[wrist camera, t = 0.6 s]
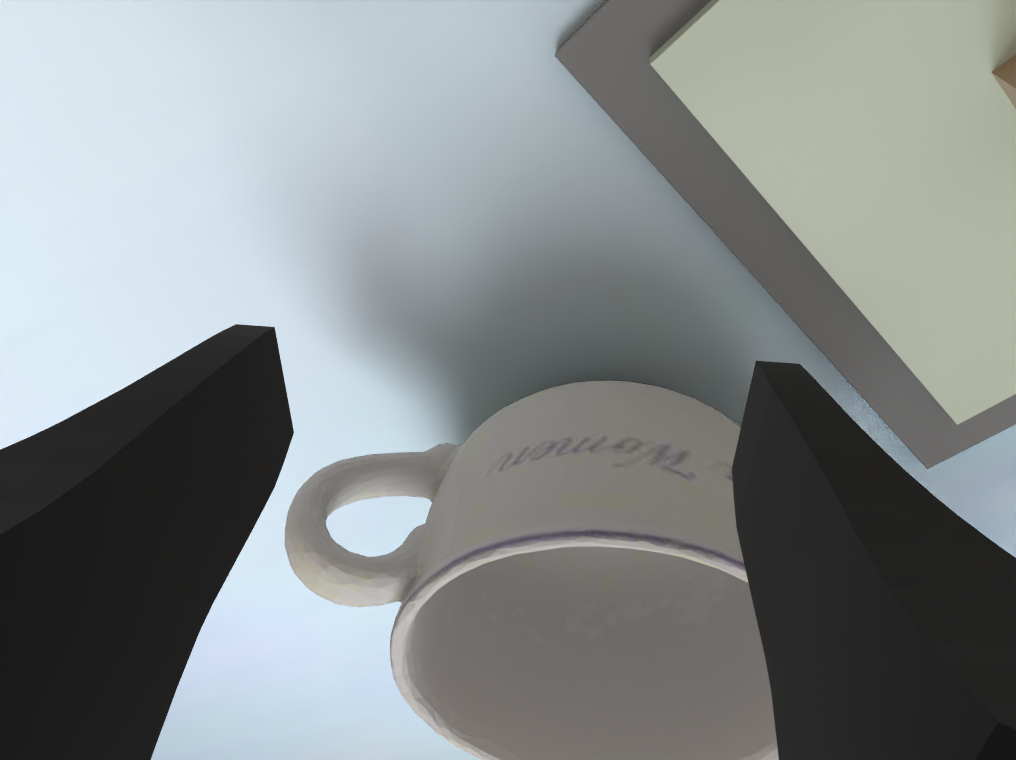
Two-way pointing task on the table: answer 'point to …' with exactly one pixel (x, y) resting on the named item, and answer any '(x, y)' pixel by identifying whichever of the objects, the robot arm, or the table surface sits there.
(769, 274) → the mat
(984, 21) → the cream flat block
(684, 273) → the table surface
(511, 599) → the teacup
